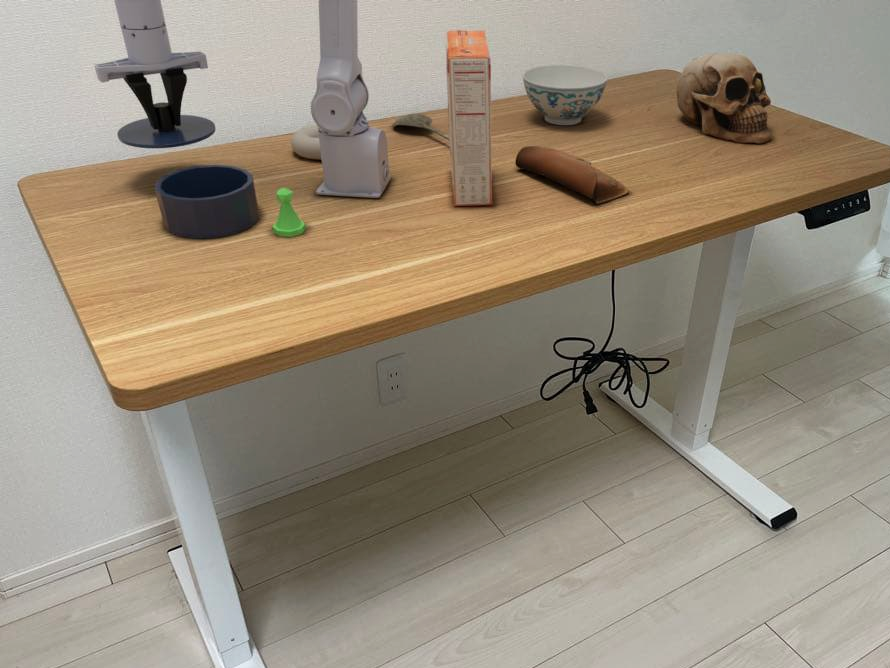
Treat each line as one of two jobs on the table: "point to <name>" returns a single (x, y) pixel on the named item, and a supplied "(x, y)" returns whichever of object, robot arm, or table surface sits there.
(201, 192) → the pan
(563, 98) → the chinaware
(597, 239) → the table surface
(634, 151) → the table surface
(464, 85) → the cracker box
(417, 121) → the soupspoon
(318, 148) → the donut
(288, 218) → the game piece
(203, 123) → the pan lid
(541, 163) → the sunglasses case
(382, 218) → the table surface
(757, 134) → the beige skull model
